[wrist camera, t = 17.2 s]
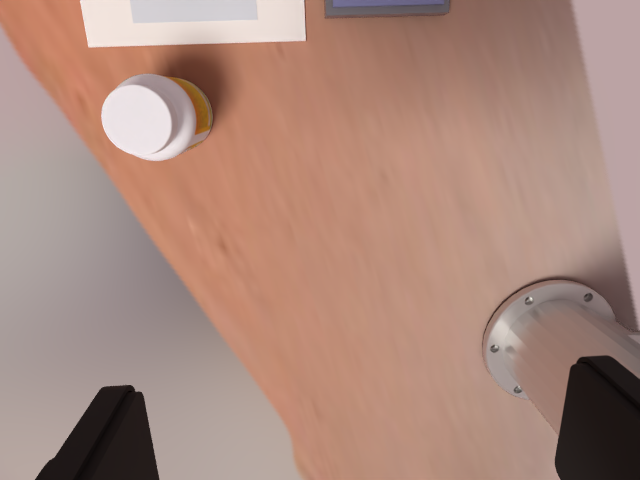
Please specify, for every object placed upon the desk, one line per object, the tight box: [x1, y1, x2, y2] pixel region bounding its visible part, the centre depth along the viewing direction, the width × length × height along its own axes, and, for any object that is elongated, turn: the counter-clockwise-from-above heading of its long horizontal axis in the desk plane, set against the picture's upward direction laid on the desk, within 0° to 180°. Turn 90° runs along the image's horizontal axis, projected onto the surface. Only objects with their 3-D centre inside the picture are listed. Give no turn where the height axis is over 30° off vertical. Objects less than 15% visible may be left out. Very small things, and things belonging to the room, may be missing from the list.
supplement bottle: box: [101, 74, 213, 161], centre depth 30 cm, size 5×5×10 cm
